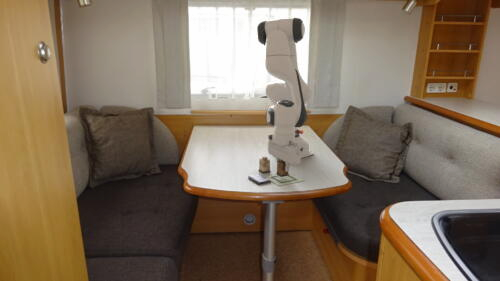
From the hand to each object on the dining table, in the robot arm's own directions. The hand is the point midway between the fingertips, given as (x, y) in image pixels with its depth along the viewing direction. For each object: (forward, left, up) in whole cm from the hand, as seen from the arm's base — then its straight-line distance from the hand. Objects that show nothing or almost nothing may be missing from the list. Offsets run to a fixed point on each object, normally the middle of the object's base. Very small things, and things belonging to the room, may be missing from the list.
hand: (283, 169), depth 160 cm
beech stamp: (+2, -12, -5) cm, 13 cm away
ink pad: (+10, -3, -5) cm, 11 cm away
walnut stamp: (0, 0, -3) cm, 3 cm away
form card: (-1, 0, -5) cm, 5 cm away
